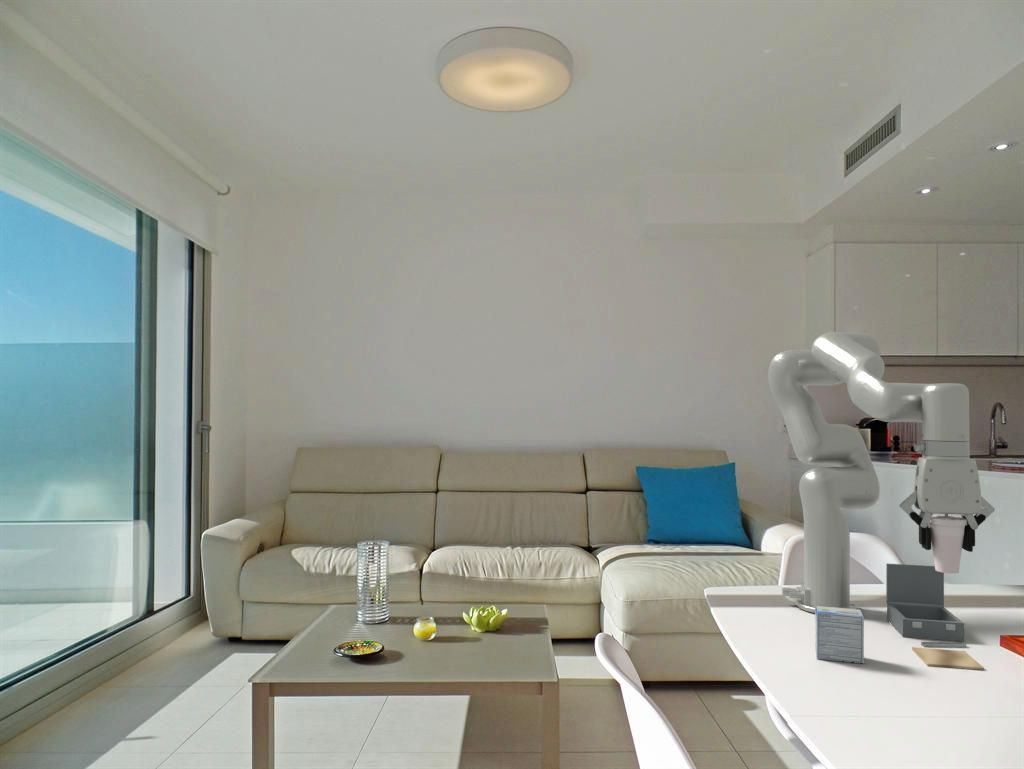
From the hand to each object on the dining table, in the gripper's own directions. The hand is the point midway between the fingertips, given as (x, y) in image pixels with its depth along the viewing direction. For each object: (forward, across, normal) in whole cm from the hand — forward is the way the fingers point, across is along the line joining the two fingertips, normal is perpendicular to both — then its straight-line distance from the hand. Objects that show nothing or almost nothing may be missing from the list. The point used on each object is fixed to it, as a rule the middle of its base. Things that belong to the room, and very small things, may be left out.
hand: (946, 548), depth 138 cm
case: (+20, +1, +18) cm, 27 cm away
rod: (+20, +2, +8) cm, 22 cm away
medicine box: (+20, -19, -4) cm, 28 cm away
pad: (+20, 0, 0) cm, 20 cm away
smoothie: (+4, 0, 0) cm, 4 cm away
